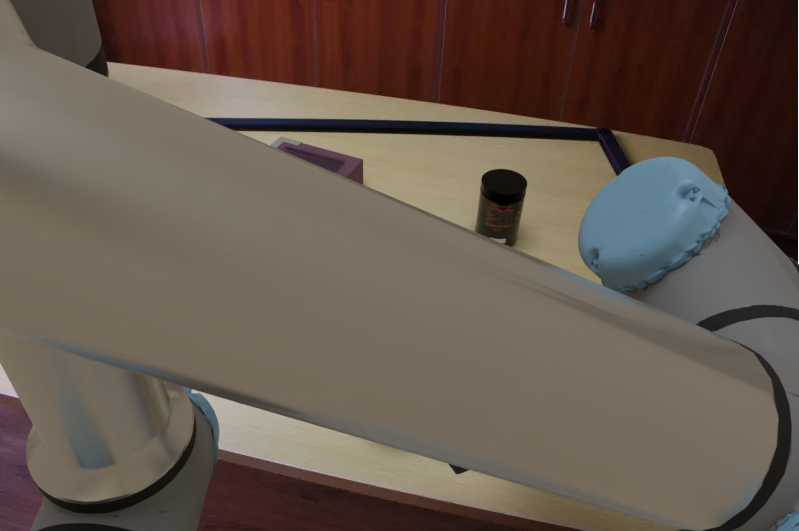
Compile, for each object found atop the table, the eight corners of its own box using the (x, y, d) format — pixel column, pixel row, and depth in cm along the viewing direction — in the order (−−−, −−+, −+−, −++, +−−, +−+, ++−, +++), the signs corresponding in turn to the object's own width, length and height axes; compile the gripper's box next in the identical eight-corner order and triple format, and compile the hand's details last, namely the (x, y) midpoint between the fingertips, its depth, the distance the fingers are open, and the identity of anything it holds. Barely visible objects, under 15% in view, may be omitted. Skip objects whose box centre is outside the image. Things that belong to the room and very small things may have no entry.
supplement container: (513, 223, 103) (523, 168, 97) (520, 250, 98) (531, 194, 91) (471, 223, 103) (478, 168, 96) (476, 250, 98) (484, 194, 91)
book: (283, 160, 116) (280, 136, 113) (363, 183, 111) (363, 158, 108) (194, 240, 98) (188, 213, 95) (284, 270, 93) (281, 244, 90)
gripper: (601, 532, 40) (399, 515, 56) (713, 306, 55) (530, 344, 72) (538, 440, 39) (351, 450, 55) (671, 235, 54) (494, 290, 71)
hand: (452, 390), depth 63 cm, fingers open, 13 cm apart
